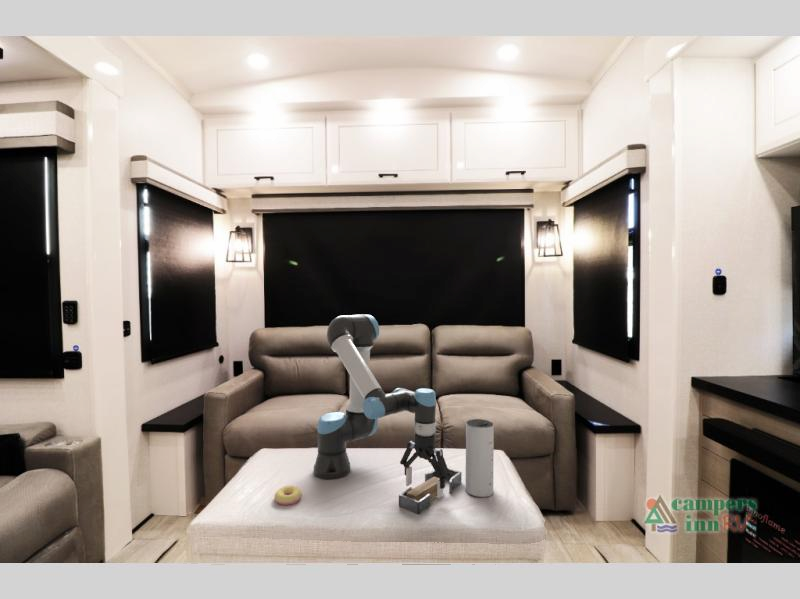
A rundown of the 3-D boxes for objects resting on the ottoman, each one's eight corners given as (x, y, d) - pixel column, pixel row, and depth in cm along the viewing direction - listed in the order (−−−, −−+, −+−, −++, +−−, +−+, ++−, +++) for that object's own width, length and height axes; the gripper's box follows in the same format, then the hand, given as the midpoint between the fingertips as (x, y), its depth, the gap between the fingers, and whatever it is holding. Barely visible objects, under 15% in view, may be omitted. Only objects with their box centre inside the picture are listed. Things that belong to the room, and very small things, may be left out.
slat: (406, 506, 143) (406, 492, 143) (434, 489, 155) (434, 476, 154) (415, 510, 140) (415, 496, 140) (442, 492, 152) (442, 479, 152)
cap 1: (398, 506, 142) (398, 494, 142) (410, 498, 148) (410, 487, 148) (419, 514, 137) (419, 502, 137) (430, 505, 143) (430, 494, 142)
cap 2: (424, 484, 158) (424, 473, 158) (438, 474, 166) (438, 465, 166) (451, 493, 151) (451, 482, 151) (463, 482, 159) (463, 472, 159)
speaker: (476, 481, 161) (476, 415, 160) (499, 490, 153) (499, 421, 152) (459, 490, 153) (460, 421, 152) (483, 501, 146) (483, 428, 145)
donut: (297, 497, 153) (272, 498, 149) (299, 484, 154) (273, 485, 150) (303, 505, 144) (276, 507, 140) (304, 491, 145) (277, 493, 141)
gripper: (391, 427, 152) (390, 483, 152) (449, 444, 136) (448, 506, 137) (403, 422, 158) (402, 476, 158) (460, 437, 142) (459, 497, 143)
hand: (424, 490), depth 148 cm, fingers open, 13 cm apart
